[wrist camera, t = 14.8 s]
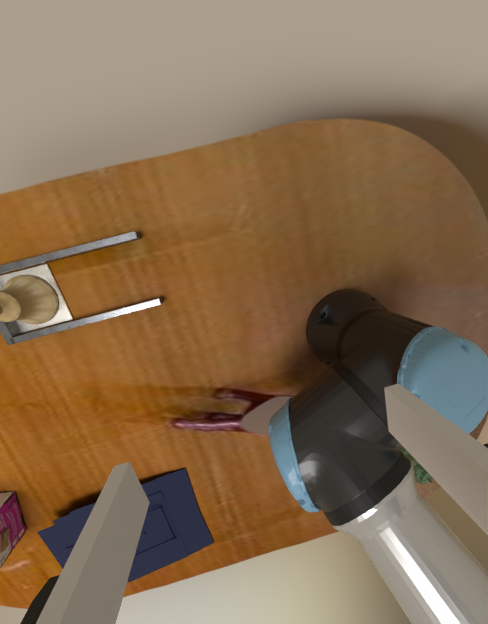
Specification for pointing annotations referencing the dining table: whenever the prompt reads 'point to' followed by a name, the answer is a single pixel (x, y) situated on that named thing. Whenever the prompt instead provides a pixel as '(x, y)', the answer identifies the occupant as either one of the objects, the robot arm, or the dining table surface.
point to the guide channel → (16, 328)
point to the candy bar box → (9, 524)
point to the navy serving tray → (146, 527)
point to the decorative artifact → (417, 468)
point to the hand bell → (27, 300)
